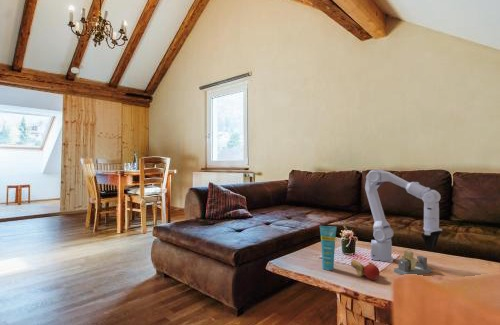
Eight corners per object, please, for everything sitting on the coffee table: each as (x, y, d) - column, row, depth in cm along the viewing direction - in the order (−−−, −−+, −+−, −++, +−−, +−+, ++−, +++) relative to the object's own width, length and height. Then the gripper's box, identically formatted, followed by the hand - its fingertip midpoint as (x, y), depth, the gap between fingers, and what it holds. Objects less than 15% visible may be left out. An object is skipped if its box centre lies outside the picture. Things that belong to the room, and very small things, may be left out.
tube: (319, 269, 130) (319, 226, 130) (320, 265, 135) (319, 224, 135) (336, 271, 128) (336, 227, 128) (336, 267, 133) (336, 225, 133)
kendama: (344, 269, 133) (365, 280, 116) (346, 255, 134) (367, 263, 117) (360, 272, 134) (383, 282, 117) (361, 258, 135) (385, 266, 118)
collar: (411, 269, 124) (411, 253, 123) (402, 266, 128) (402, 250, 128) (415, 269, 124) (415, 252, 124) (406, 265, 129) (406, 249, 129)
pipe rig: (405, 276, 122) (405, 262, 121) (394, 271, 127) (394, 258, 127) (431, 272, 127) (431, 258, 127) (419, 267, 132) (419, 254, 132)
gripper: (438, 221, 121) (438, 254, 121) (445, 216, 131) (445, 246, 131) (419, 219, 125) (419, 250, 125) (427, 214, 136) (427, 243, 136)
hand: (431, 248), depth 129 cm, fingers open, 7 cm apart
